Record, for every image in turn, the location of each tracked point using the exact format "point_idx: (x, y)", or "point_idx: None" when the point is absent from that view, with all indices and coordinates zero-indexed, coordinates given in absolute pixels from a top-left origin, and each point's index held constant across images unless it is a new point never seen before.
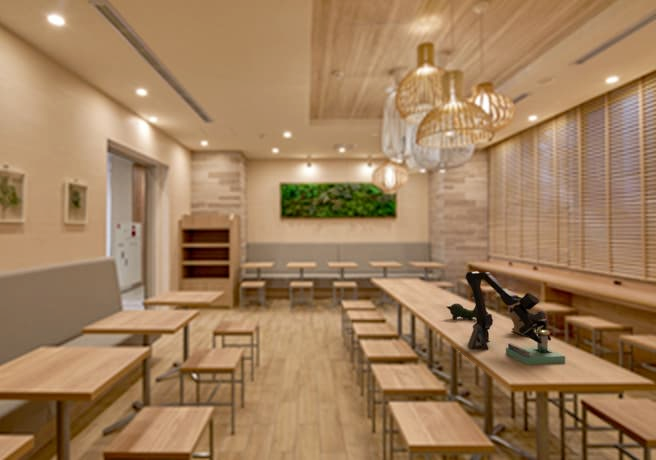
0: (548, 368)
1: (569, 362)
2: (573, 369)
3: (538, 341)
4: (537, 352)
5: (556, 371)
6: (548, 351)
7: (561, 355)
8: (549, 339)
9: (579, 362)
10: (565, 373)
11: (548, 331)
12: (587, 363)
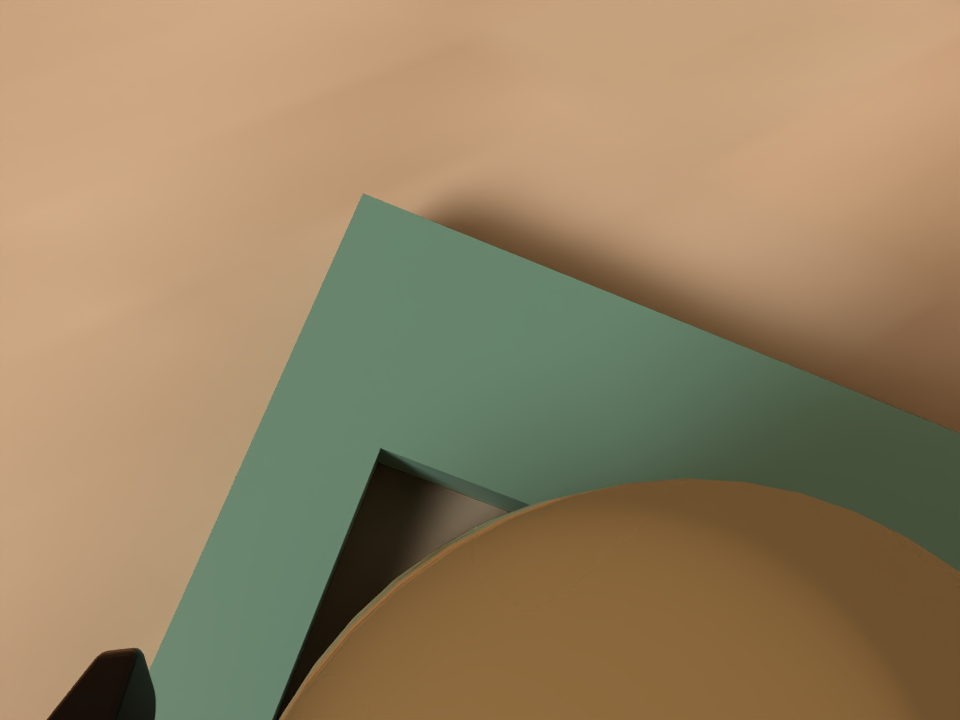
0: (898, 239)
1: (291, 204)
2: (588, 18)
3: None
4: None
5: (896, 114)
6: (310, 618)
7: (397, 252)
8: (139, 716)
9: (122, 109)
10: (848, 12)
11: (435, 661)
12: (52, 11)
